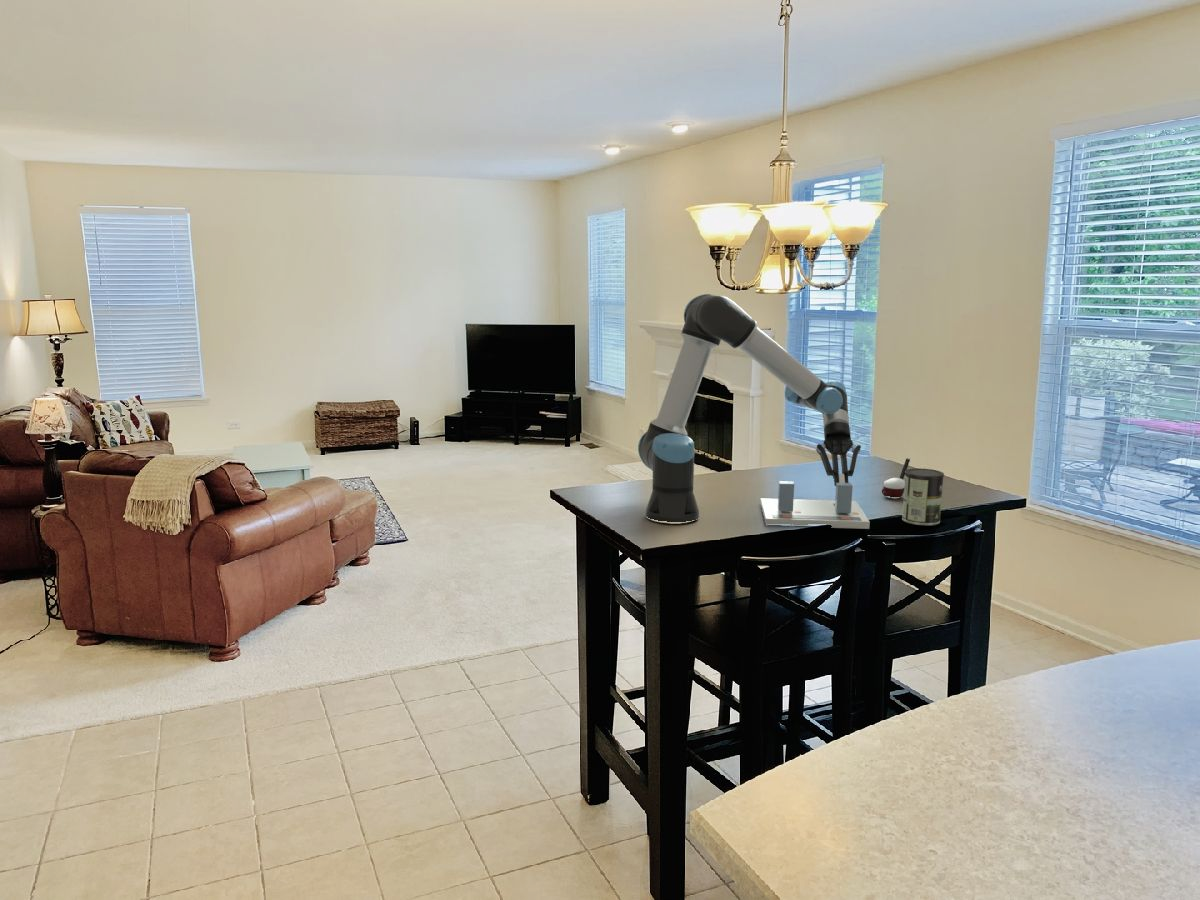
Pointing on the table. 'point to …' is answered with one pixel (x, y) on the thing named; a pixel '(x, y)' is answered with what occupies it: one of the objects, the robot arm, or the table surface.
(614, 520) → the table surface
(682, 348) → the robot arm
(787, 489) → the left switch tab
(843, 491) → the right switch tab
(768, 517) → the switch panel
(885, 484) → the cocoa
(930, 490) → the coffee can
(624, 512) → the table surface
